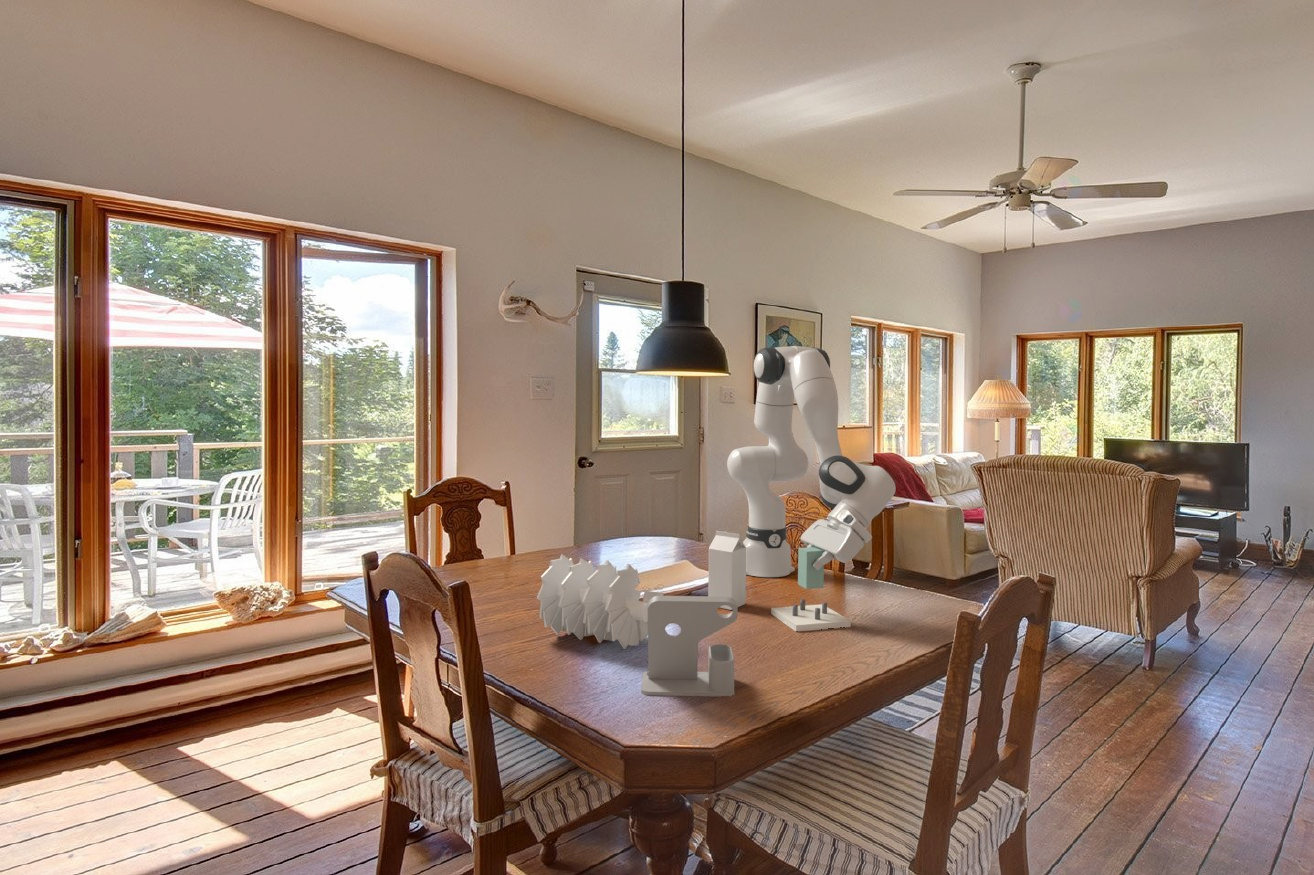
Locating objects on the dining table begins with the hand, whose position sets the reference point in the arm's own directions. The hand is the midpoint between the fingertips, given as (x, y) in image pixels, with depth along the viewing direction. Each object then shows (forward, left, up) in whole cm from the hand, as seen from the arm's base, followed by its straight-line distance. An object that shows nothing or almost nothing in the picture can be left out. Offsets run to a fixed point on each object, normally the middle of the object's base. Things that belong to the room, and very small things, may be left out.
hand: (808, 565), depth 175 cm
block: (0, +1, -5) cm, 5 cm away
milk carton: (-17, -14, -14) cm, 26 cm away
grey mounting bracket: (+30, -40, -14) cm, 52 cm away
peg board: (0, +1, -14) cm, 14 cm away
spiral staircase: (+1, -51, -14) cm, 53 cm away
